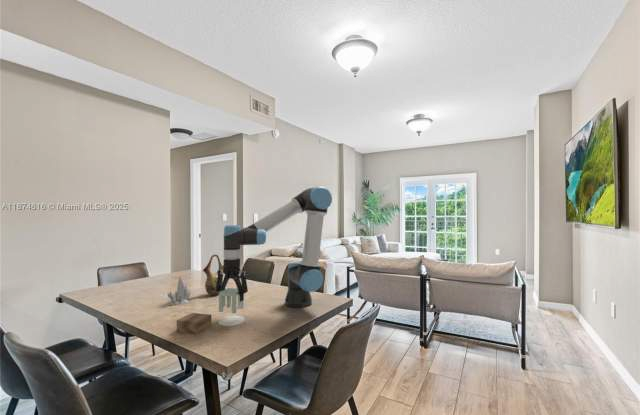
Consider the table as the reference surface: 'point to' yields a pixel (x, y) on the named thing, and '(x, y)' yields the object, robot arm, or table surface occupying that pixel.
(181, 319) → the walnut box
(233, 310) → the stool
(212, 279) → the ceramic vessel
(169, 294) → the crystal
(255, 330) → the table surface
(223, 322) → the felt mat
